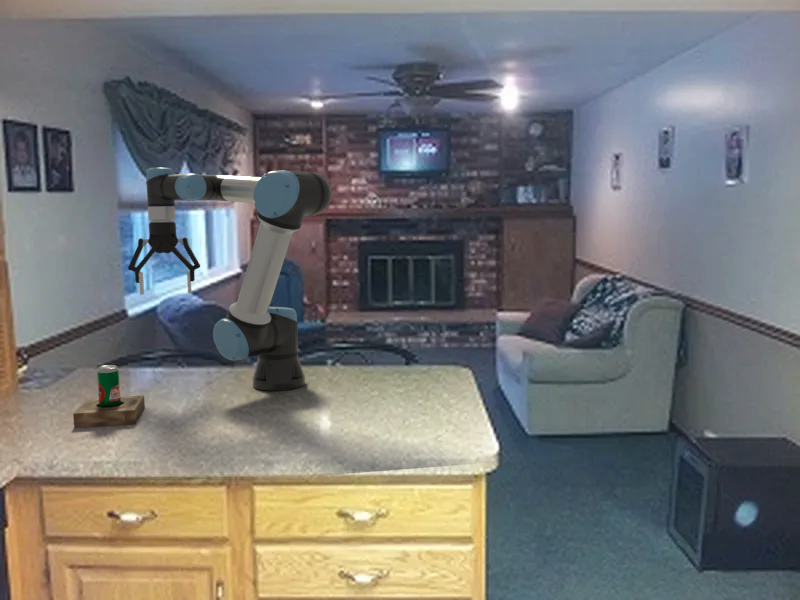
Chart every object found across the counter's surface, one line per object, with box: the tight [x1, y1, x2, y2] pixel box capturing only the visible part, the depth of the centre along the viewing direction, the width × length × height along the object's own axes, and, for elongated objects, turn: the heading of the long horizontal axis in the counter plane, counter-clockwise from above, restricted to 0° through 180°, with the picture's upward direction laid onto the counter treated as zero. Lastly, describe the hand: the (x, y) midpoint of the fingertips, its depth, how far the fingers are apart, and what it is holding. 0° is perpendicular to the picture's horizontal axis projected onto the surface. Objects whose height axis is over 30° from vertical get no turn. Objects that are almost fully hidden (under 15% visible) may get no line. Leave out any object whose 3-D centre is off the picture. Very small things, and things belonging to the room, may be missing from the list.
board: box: [72, 395, 146, 429], centre depth 183 cm, size 14×14×4 cm
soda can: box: [96, 364, 122, 408], centre depth 182 cm, size 5×5×12 cm
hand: (166, 293), depth 218 cm, fingers open, 13 cm apart
